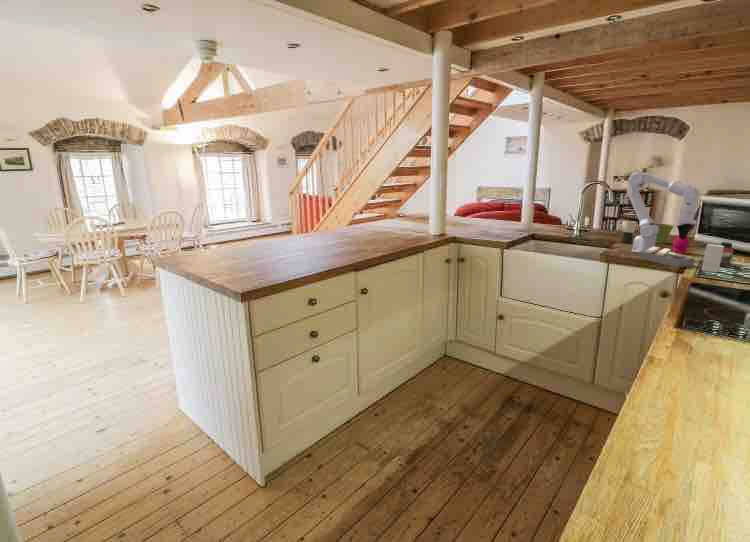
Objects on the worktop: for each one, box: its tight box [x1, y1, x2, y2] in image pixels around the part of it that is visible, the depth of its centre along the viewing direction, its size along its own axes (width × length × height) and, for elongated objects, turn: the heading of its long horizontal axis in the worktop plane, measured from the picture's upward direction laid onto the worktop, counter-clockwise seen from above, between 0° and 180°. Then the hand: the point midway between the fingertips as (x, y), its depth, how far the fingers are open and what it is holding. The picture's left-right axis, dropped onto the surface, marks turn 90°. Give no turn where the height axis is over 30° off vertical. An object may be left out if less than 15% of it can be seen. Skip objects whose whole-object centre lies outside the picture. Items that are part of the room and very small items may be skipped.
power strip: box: [636, 250, 696, 269], centre depth 204 cm, size 20×12×4 cm, turn 25°
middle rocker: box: [657, 247, 672, 256], centre depth 203 cm, size 3×6×1 cm, turn 115°
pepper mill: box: [672, 224, 694, 254], centre depth 225 cm, size 7×7×20 cm
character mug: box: [618, 220, 640, 244], centre depth 250 cm, size 11×7×13 cm, turn 80°
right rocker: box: [668, 251, 683, 257], centre depth 198 cm, size 3×6×1 cm, turn 115°
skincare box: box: [701, 243, 724, 273], centre depth 188 cm, size 6×4×12 cm
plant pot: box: [654, 222, 675, 245], centre depth 253 cm, size 12×12×11 cm
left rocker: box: [646, 246, 660, 253], centre depth 208 cm, size 3×6×1 cm, turn 115°
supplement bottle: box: [720, 241, 734, 268], centre depth 199 cm, size 6×6×11 cm
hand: (682, 238), depth 209 cm, fingers closed
